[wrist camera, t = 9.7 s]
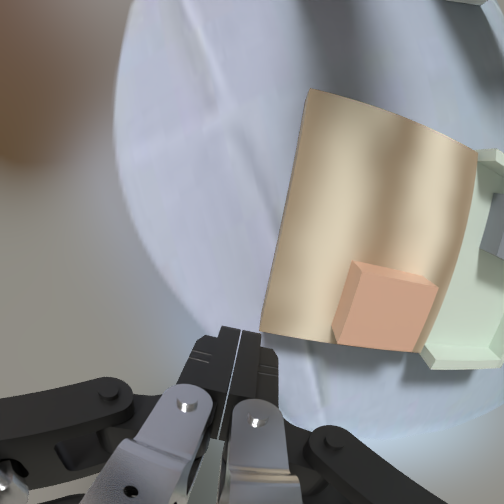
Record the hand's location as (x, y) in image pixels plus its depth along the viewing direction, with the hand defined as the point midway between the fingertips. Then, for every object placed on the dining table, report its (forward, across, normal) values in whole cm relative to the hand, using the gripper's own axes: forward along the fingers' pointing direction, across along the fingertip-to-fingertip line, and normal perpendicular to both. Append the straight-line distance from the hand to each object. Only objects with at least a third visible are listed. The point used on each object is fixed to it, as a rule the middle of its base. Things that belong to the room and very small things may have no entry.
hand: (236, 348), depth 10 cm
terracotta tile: (+9, -9, 0) cm, 13 cm away
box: (+12, -21, -4) cm, 25 cm away
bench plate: (+12, -8, -4) cm, 15 cm away
